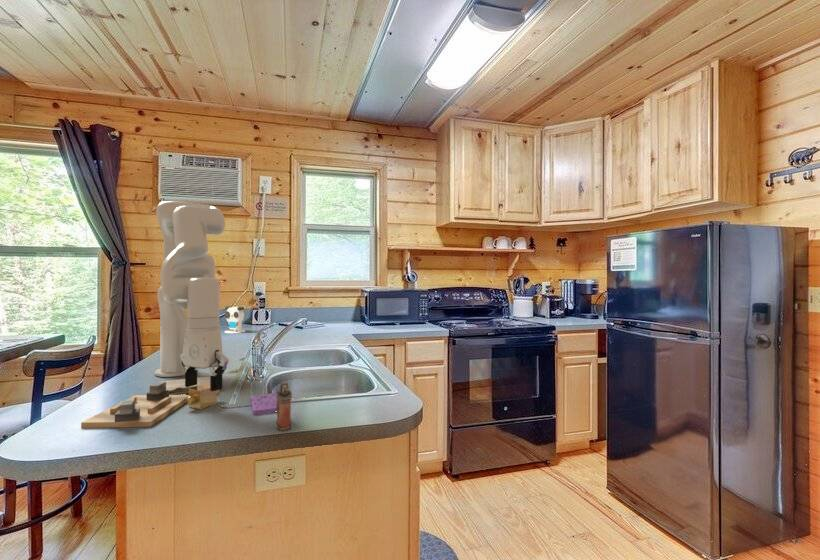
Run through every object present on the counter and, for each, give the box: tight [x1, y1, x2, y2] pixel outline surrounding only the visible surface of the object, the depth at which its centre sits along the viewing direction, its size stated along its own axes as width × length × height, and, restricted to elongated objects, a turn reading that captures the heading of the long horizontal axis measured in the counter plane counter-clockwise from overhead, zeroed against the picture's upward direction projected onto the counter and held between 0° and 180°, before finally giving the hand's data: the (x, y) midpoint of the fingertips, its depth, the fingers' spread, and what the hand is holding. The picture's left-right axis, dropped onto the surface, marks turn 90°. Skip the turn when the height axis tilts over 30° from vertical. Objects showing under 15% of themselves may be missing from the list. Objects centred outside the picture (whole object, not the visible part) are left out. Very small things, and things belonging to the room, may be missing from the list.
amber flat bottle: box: [275, 381, 293, 433], centre depth 93 cm, size 8×3×10 cm, turn 21°
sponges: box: [250, 392, 277, 416], centre depth 106 cm, size 7×13×2 cm, turn 25°
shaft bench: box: [80, 381, 189, 429], centre depth 100 cm, size 20×15×5 cm
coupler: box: [185, 384, 221, 410], centre depth 106 cm, size 9×4×5 cm, turn 155°
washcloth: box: [159, 375, 224, 395], centre depth 120 cm, size 12×18×3 cm, turn 123°
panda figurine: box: [224, 305, 246, 334], centre depth 234 cm, size 12×11×15 cm
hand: (203, 387), depth 105 cm, fingers open, 9 cm apart
